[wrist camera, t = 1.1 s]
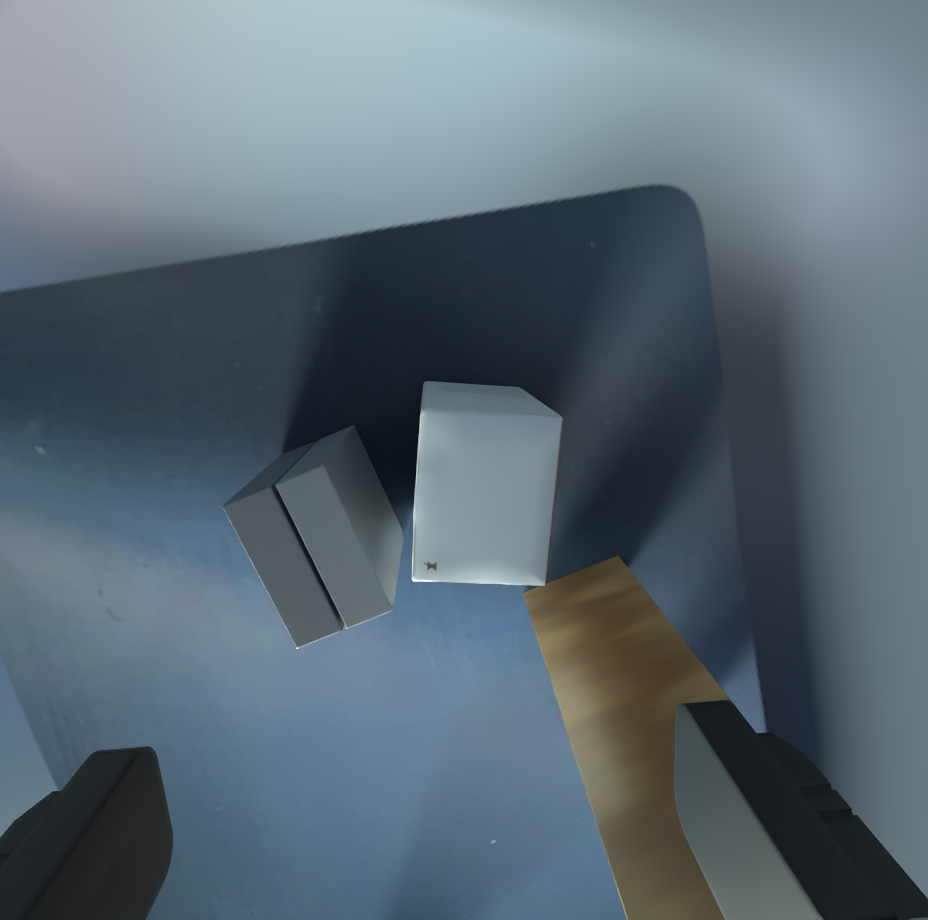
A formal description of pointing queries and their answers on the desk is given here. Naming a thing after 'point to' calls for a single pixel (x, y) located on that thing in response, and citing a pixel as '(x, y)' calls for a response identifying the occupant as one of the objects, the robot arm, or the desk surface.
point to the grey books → (321, 536)
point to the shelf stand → (627, 728)
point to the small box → (484, 485)
